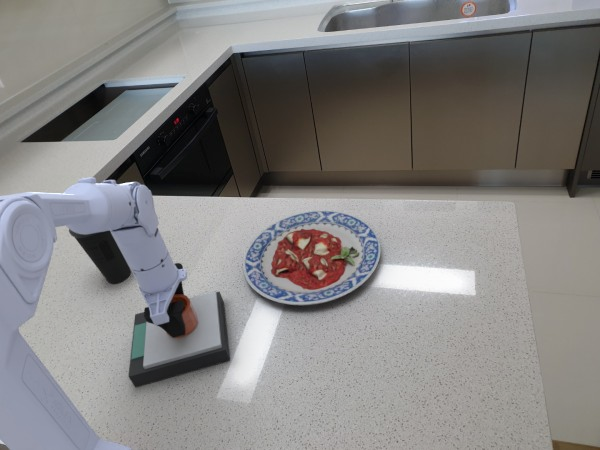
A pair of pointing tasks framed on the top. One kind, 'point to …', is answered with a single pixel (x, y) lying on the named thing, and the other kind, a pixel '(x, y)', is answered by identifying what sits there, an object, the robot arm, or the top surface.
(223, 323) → the scale
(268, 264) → the ceramic plate
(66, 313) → the top surface
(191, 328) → the flower pot
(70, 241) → the top surface
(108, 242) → the drinking cup
